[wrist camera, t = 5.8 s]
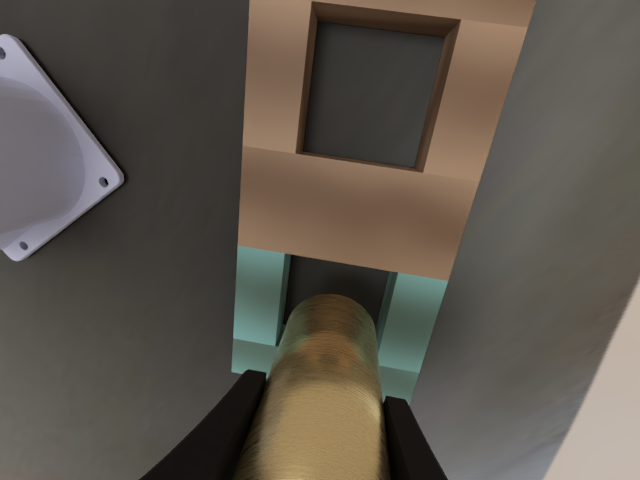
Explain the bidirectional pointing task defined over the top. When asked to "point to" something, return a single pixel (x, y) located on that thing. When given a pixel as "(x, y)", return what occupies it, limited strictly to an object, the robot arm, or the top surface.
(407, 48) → the top surface
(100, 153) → the robot arm
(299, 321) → the brass pin
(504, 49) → the docking plate
